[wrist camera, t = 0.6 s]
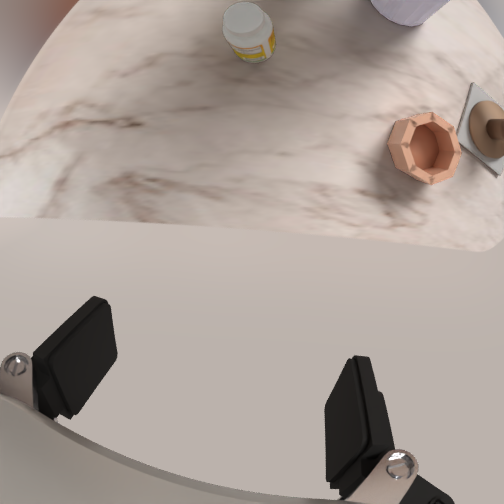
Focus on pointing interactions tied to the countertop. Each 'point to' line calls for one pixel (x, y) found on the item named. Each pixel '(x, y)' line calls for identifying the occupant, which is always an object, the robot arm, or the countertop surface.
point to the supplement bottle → (249, 32)
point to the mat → (464, 133)
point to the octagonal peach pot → (425, 147)
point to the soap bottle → (408, 10)
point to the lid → (487, 128)
